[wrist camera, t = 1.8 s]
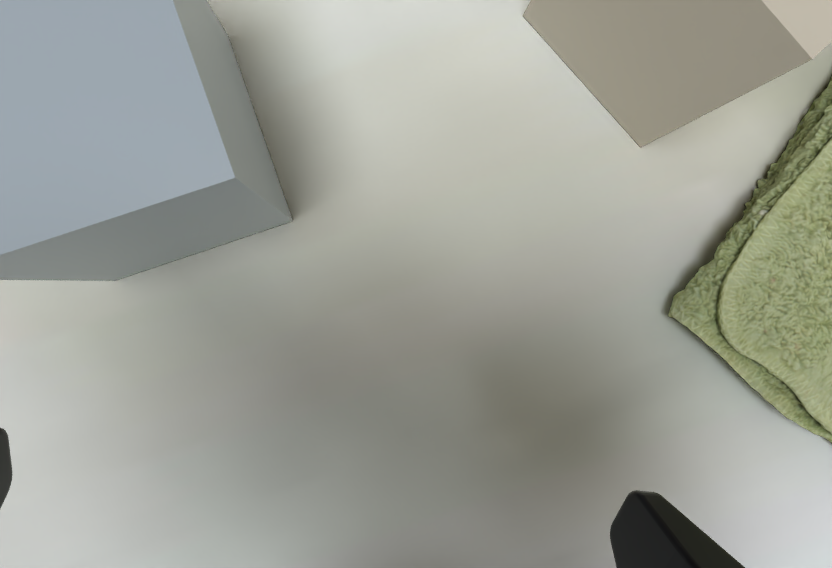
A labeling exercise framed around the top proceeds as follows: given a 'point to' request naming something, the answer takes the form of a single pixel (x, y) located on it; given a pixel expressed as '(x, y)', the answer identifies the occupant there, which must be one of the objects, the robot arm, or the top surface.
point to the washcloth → (777, 281)
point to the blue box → (124, 139)
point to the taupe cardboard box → (678, 52)
